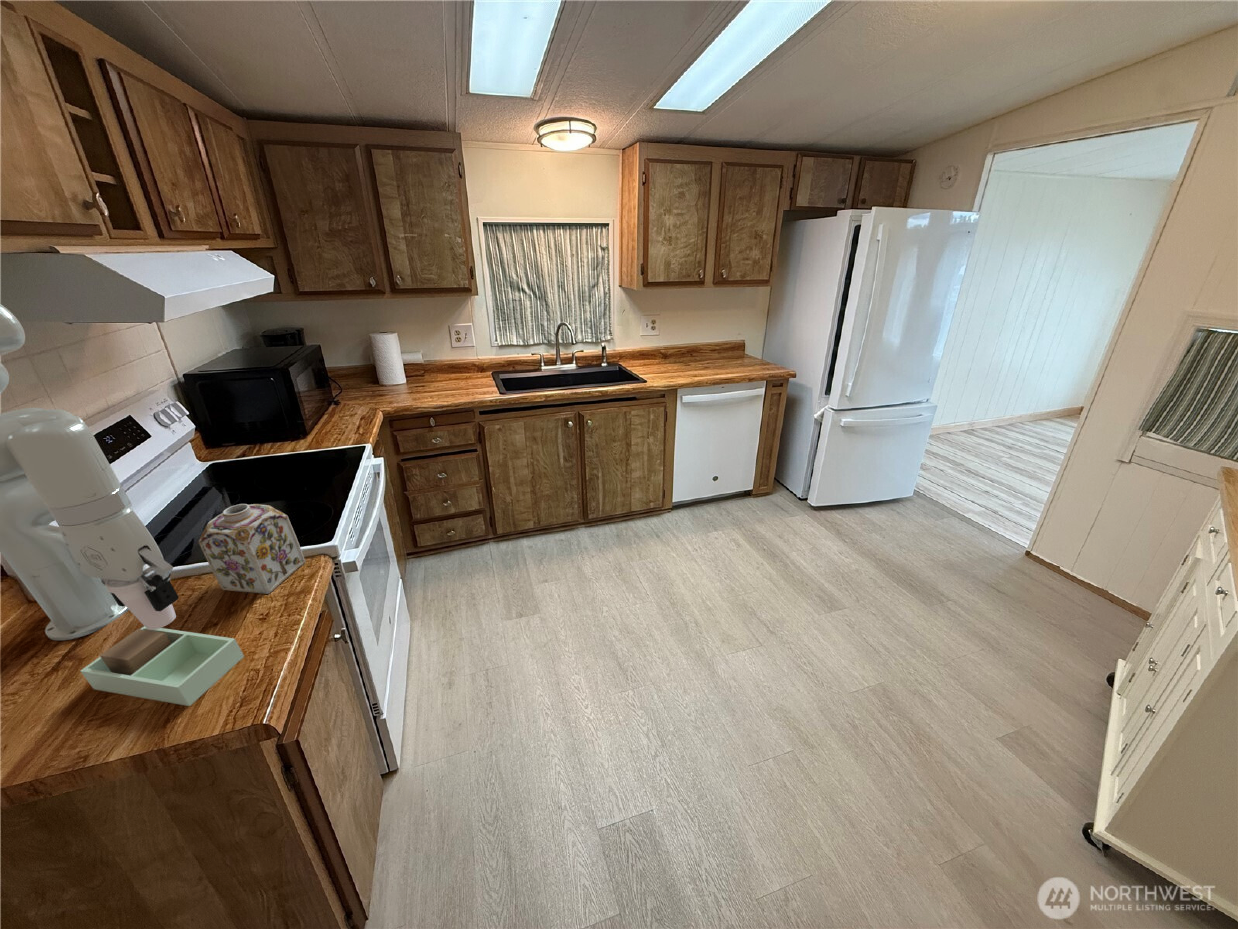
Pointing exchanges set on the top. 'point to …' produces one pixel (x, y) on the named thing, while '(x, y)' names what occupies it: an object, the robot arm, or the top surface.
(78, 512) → the robot arm
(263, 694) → the top surface
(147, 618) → the white cup
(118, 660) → the walnut block
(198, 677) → the tote
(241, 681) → the top surface
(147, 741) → the top surface
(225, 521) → the decorative jar
